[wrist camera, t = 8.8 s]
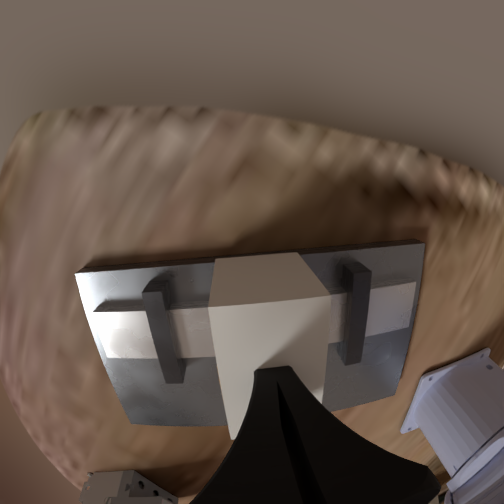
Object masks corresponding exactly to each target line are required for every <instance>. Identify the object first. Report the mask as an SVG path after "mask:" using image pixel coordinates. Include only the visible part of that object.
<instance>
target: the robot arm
mask: <svg viewBox="0 0 504 504" xmlns="http://www.w3.org/2000/svg"><path fill="white" fill-rule="evenodd" d="M490 351H491V349H490V348H485V349H483V350H481V351H479V352H477V353H475V354H473V355H470V356H468V357H466V358H464V359H461V360H459V361H457V362H454V363H452V364H449V365H447V366H444V367H442V368H439V369H437V370H434V371H431V372H429V373H426V374H424V375H423V376H422V377H421V379H420V382H419V384H418V387H417V390H416V393H415V395H414V398H413V401H412V403H411V406H410V408H409V411H408V413H407V416H406V418H405V420H404V423H403V425H402V427H401V429H400V432H401V433H406V432H409V431H411V430H414V429H416V428H420V429H421V431H422V432H423V434H424V435H425V437H426V438H427V440H428V441H429V443H430V445H431V446H432V448H433V449H434V451H435V452H436V454H437V456H438V457H439V459H440V460H441V462H442V464H443V465H444V467H445V468H446V470H447V472H448V473H449V475H450V477H451V478H452V479H451V480H450V481H449V482H448V483H447V486H448V488H449V490H448V492H447V493H446V496H445V502H444V504H504V370H503V369H501V368H500V367H499V366H498V365H497V364H496V363H495V362H494V361H493V360H491V359H490V358H489V354H490ZM440 489H441V485H440V484H439V482H438V480H437V478H436V477H435V475H434V474H433V473H432V471H431V470H430V469H429V468H428V466H426V465H422V464H419V463H416V462H413V461H410V460H407V459H404V458H402V457H399V456H397V455H395V454H393V453H390V452H388V451H386V450H384V449H382V448H380V447H379V446H377V445H375V444H373V443H371V442H370V441H368V440H366V439H364V438H363V437H361V436H360V435H358V434H357V433H355V432H354V431H353V430H351V429H350V428H349V427H347V426H346V425H345V424H343V423H342V422H341V421H340V420H338V419H337V418H336V417H335V416H334V415H333V414H332V413H331V412H329V411H328V410H327V409H326V408H325V407H324V406H323V405H322V404H321V403H320V402H319V401H318V400H317V399H316V397H315V396H314V395H313V394H312V393H311V392H310V391H309V390H308V388H307V387H306V386H305V385H304V384H303V382H302V381H301V380H300V378H299V377H298V376H297V374H296V373H295V371H294V370H293V368H292V367H291V366H289V365H288V366H280V367H272V368H263V369H256V370H255V371H254V382H253V389H252V394H251V398H250V401H249V405H248V408H247V411H246V414H245V417H244V420H243V422H242V425H241V427H240V430H239V432H238V434H237V436H236V438H235V440H234V442H233V444H232V446H231V448H230V450H229V452H228V453H227V455H226V457H225V458H224V460H223V462H222V463H221V465H220V466H219V468H218V469H217V471H216V472H215V474H214V475H213V476H212V478H211V479H210V480H209V482H208V483H207V484H206V485H205V487H204V488H203V489H202V490H201V492H200V493H199V494H198V495H197V496H196V497H195V498H194V499H193V500H192V501H191V502H190V503H189V504H429V503H430V502H431V501H432V500H433V499H434V498H435V497H436V496H437V494H438V493H439V492H440Z"/></svg>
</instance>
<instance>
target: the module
mask: <svg viewBox="0 0 504 504" xmlns="http://www.w3.org/2000/svg"><path fill="white" fill-rule="evenodd" d="M208 310H209V317H210V324H211V331H212V337H213V344H214V350H215V356H216V362H217V369H218V375H219V381H220V386H221V392H222V397H223V403H224V407H225V412H226V417H227V422H228V427H229V432H230V437H231V439H235V438H236V436H237V434H238V432H239V430H240V427H241V425H242V422H243V420H244V417H245V414H246V411H247V408H248V405H249V401H250V398H251V394H252V389H253V382H254V371H255V370H256V369H263V368H272V367H280V366H288V365H289V366H291V367H292V368H293V370H294V371H295V373H296V374H297V376H298V377H299V378H300V380H301V381H302V382H303V384H304V385H305V386H306V387H307V388H308V390H309V391H310V392H311V393H312V394H313V395H314V396H315V397H316V399H317V400H318V401H319V402H320V403H321V404H322V397H323V389H324V381H325V372H326V362H327V351H328V340H329V327H330V311H331V294H330V293H329V292H328V290H327V289H326V288H325V287H324V285H323V284H322V283H321V282H320V280H319V279H318V278H317V276H316V275H315V274H314V273H313V271H312V270H311V269H310V268H309V266H308V265H307V264H306V263H305V261H304V260H303V259H302V258H301V256H300V255H299V254H298V253H297V252H292V253H280V254H268V255H256V256H243V257H231V258H219V259H215V265H214V272H213V278H212V284H211V291H210V298H209V304H208Z"/></svg>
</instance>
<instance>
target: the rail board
mask: <svg viewBox="0 0 504 504" xmlns="http://www.w3.org/2000/svg"><path fill="white" fill-rule="evenodd" d="M424 249H425V243H423V242H421V241H419V240H417V239H412V240H401V241H389V242H378V243H366V244H355V245H344V246H332V247H321V248H309V249H298V250H286V251H275V252H263V253H251V254H240V255H228V256H216V257H205V258H193V259H181V260H170V261H158V262H146V263H134V264H122V265H110V266H98V267H87V268H82V269H80V270H79V271H78V272H76V273H75V276H76V280H77V284H78V288H79V291H80V295H81V299H82V302H83V305H84V309H85V312H86V315H87V319H88V322H89V325H90V328H91V331H92V334H93V337H94V339H95V342H96V345H97V348H98V350H99V353H100V356H101V358H102V361H103V363H104V366H105V368H106V371H107V373H108V376H109V378H110V380H111V383H112V385H113V387H114V389H115V392H116V394H117V396H118V398H119V400H120V402H121V404H122V406H123V408H124V410H125V413H126V414H127V416H128V418H129V420H130V422H131V424H142V425H159V426H222V425H228V422H227V417H226V412H225V407H224V403H223V397H222V392H221V386H220V381H219V375H218V369H217V362H216V356H215V350H214V344H213V337H212V331H211V324H210V317H209V310H208V304H209V298H210V291H211V284H212V278H213V272H214V265H215V259H219V258H231V257H243V256H256V255H268V254H280V253H292V252H297V253H298V254H299V255H300V256H301V258H302V259H303V260H304V261H305V263H306V264H307V265H308V266H309V268H310V269H311V270H312V271H313V273H314V274H315V275H316V276H317V278H318V279H319V280H320V282H321V283H322V284H323V285H324V287H325V288H326V289H327V290H328V292H329V293H330V294H331V311H330V327H329V340H328V351H327V362H326V372H325V381H324V389H323V397H322V405H323V406H324V407H325V408H326V409H327V410H328V411H329V412H331V411H336V410H341V409H345V408H349V407H353V406H357V405H361V404H365V403H369V402H372V401H376V400H379V399H383V398H386V397H389V396H393V395H395V392H396V389H397V386H398V383H399V379H400V376H401V372H402V369H403V365H404V361H405V358H406V354H407V350H408V346H409V341H410V337H411V333H412V328H413V323H414V318H415V313H416V308H417V302H418V296H419V290H420V283H421V276H422V268H423V259H424Z"/></svg>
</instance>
